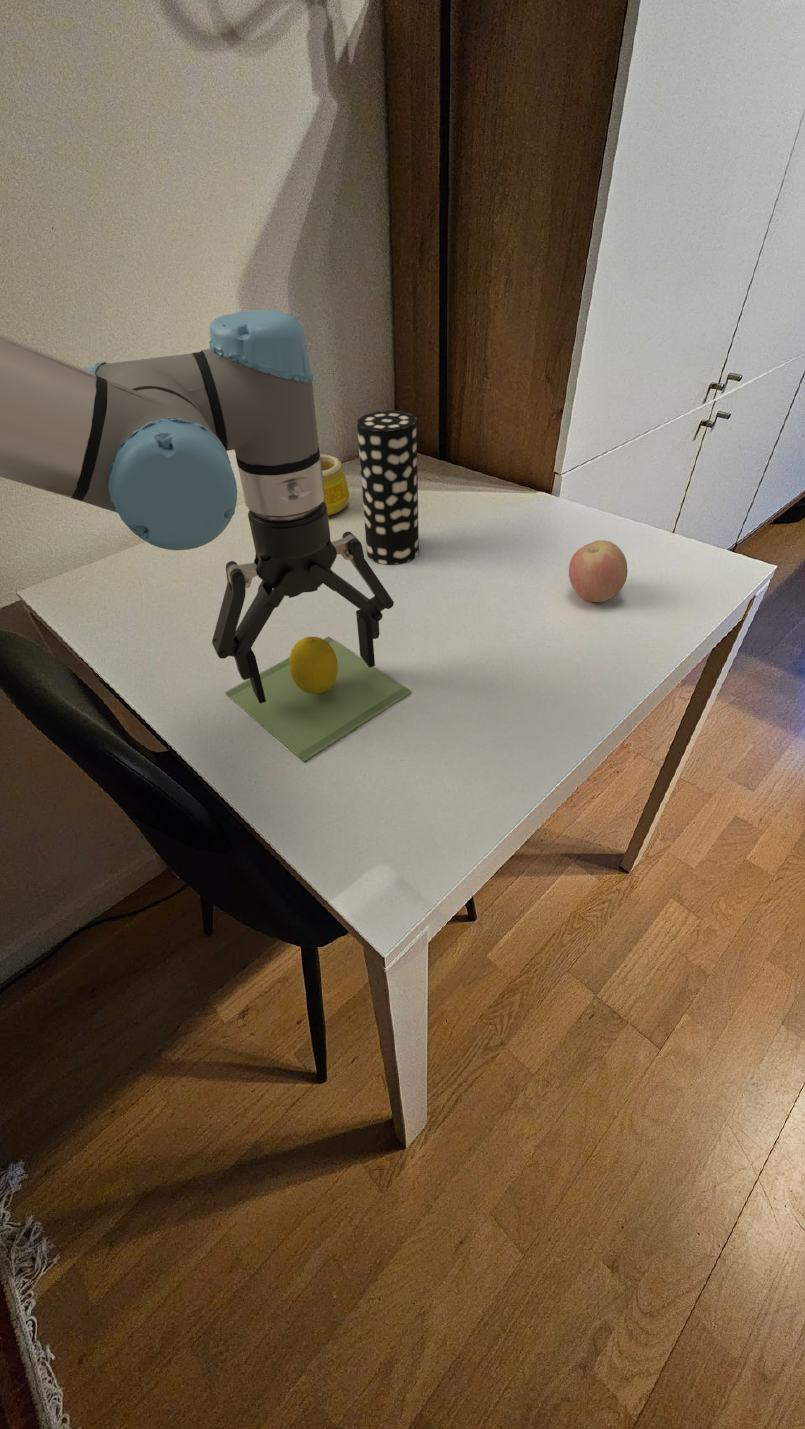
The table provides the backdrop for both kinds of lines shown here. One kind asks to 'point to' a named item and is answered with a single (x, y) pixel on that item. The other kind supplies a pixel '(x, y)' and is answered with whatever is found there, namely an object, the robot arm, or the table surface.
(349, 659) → the napkin
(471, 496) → the table surface
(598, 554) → the apple
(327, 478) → the yellow pot
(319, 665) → the lemon
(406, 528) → the white-spotted black cylinder
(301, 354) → the robot arm
